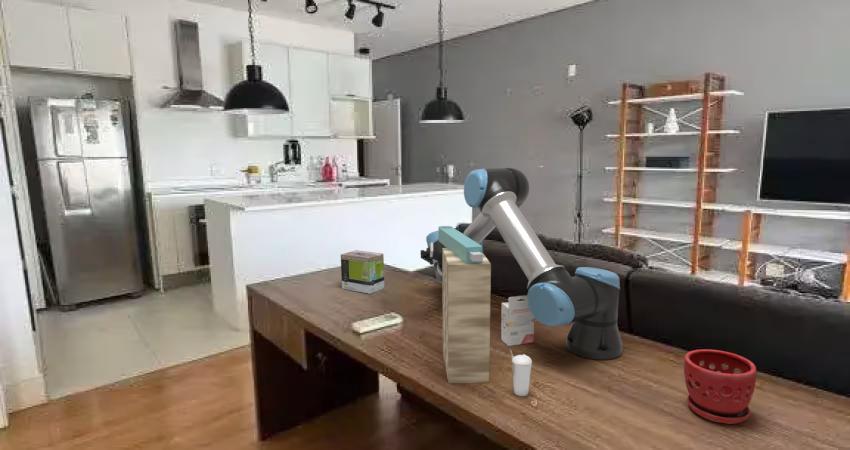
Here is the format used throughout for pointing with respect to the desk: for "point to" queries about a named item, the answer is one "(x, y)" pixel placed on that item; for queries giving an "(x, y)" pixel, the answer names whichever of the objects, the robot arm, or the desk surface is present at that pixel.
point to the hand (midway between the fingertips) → (453, 246)
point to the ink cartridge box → (517, 322)
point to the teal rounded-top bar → (460, 245)
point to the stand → (466, 318)
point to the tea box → (362, 271)
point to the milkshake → (521, 374)
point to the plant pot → (719, 385)
